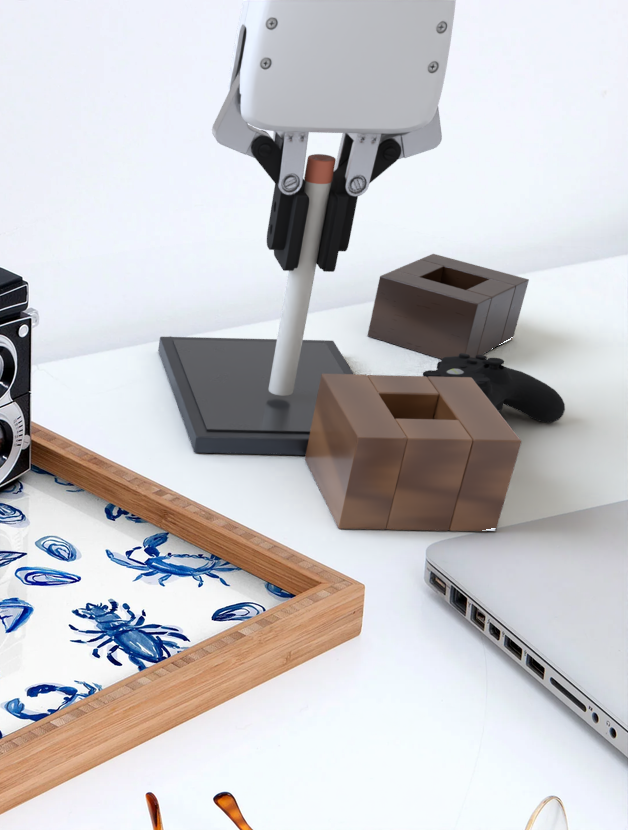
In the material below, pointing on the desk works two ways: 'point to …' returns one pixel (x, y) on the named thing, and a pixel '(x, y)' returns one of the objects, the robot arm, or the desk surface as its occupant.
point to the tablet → (245, 393)
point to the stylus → (301, 277)
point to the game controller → (504, 385)
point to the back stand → (446, 307)
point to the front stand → (410, 453)
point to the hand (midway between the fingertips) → (303, 261)
